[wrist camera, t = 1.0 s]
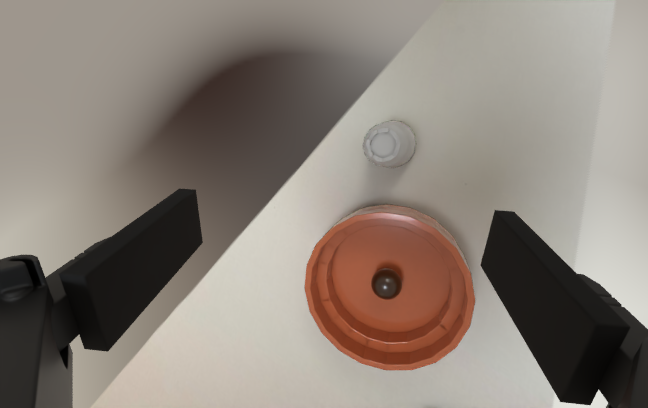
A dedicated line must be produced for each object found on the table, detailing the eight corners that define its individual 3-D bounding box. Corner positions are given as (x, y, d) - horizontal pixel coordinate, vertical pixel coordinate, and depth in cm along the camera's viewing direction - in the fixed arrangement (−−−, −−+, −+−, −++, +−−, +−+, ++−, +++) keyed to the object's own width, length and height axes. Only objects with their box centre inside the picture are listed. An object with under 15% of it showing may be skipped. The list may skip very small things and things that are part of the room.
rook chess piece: (362, 132, 33) (343, 130, 25) (405, 112, 31) (399, 103, 24) (379, 174, 33) (366, 184, 25) (423, 156, 32) (423, 161, 24)
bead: (387, 258, 34) (384, 268, 31) (409, 279, 33) (407, 291, 31) (367, 276, 35) (362, 288, 32) (388, 297, 34) (385, 311, 32)
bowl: (385, 172, 33) (380, 176, 29) (503, 282, 31) (516, 303, 27) (292, 270, 38) (275, 286, 33) (391, 369, 36) (386, 399, 32)
